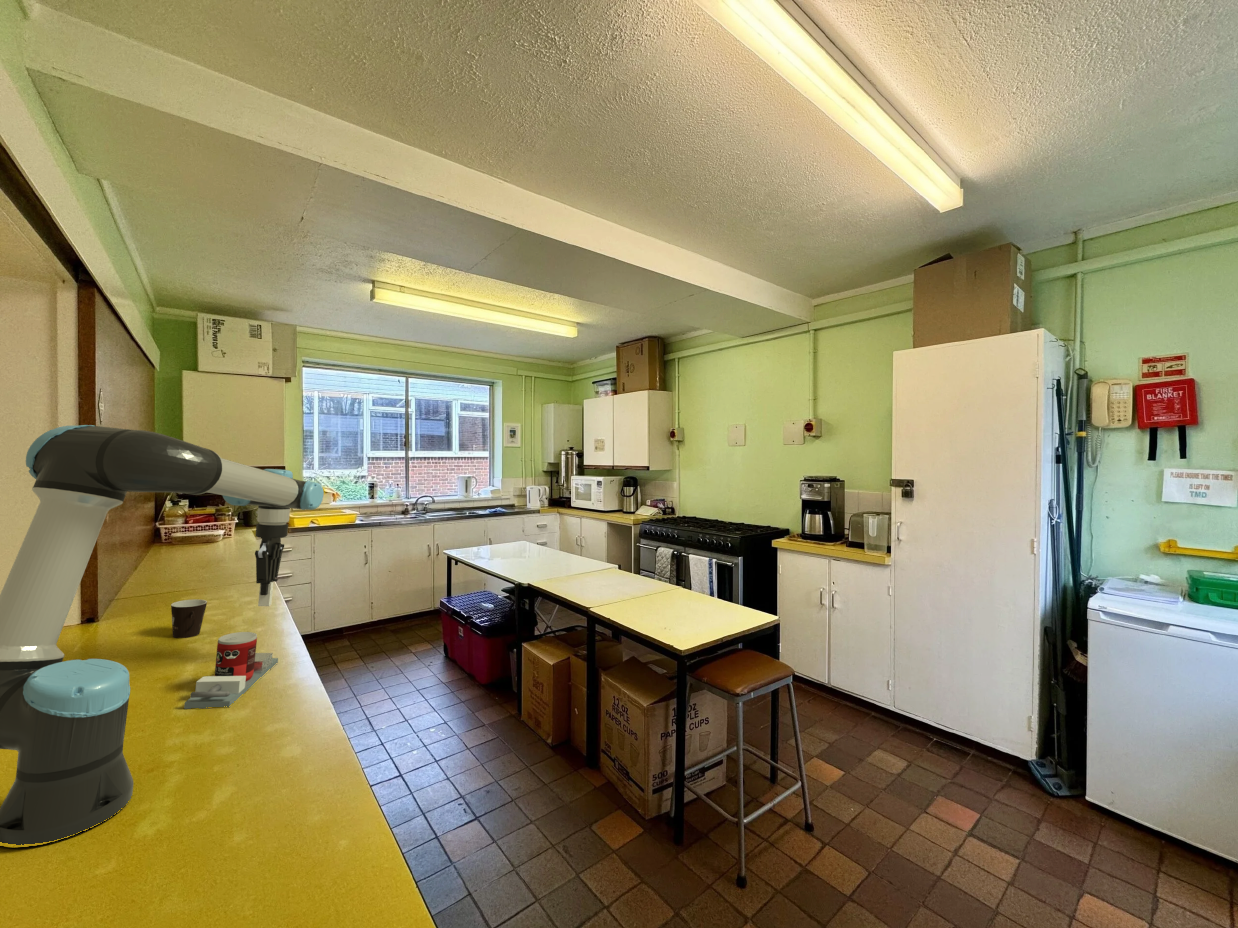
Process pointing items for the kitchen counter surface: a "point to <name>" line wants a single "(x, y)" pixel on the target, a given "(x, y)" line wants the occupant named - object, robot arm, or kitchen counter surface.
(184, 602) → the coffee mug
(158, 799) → the kitchen counter surface
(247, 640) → the canned food
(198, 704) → the vise base
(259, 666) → the block
